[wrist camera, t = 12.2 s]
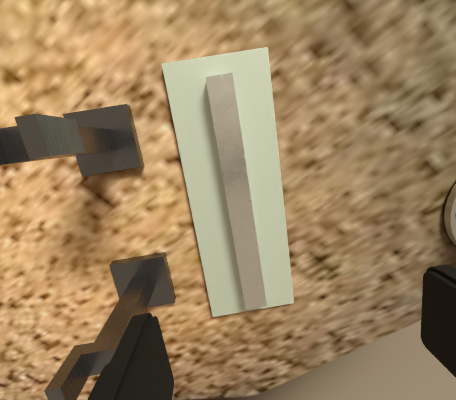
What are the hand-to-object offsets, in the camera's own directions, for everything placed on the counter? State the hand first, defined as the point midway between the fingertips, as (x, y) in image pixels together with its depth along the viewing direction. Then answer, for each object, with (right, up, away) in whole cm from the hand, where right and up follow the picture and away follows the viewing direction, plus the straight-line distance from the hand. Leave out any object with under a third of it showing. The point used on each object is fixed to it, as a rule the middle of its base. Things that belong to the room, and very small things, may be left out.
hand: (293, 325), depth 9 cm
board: (-1, +5, +19) cm, 19 cm away
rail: (-1, +4, +18) cm, 18 cm away
